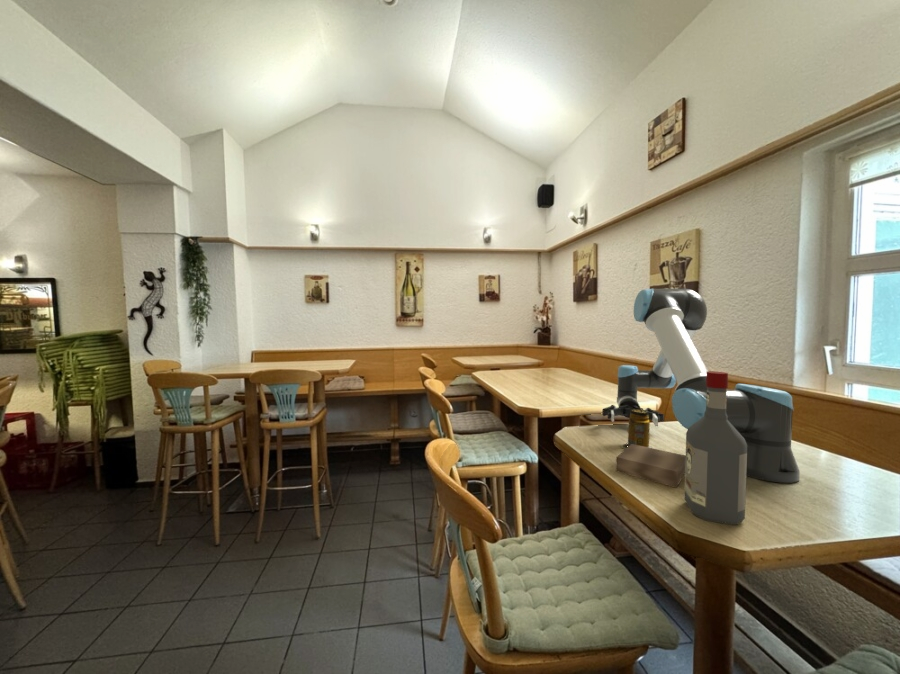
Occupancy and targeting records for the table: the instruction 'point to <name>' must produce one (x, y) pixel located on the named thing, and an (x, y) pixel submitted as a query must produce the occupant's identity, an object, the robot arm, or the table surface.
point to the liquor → (716, 460)
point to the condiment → (638, 429)
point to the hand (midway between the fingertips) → (634, 420)
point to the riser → (652, 464)
